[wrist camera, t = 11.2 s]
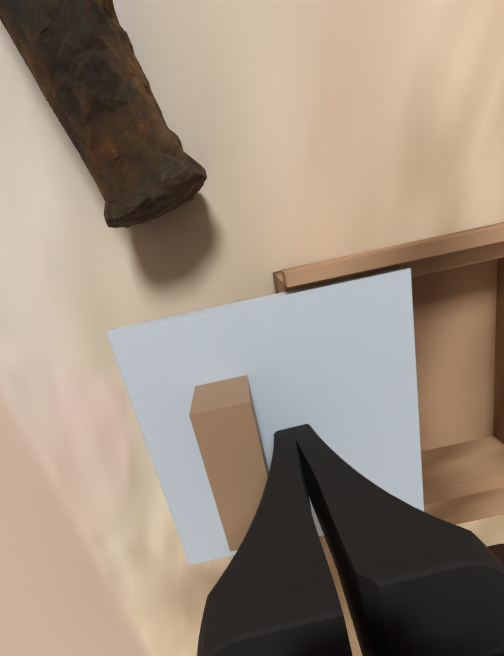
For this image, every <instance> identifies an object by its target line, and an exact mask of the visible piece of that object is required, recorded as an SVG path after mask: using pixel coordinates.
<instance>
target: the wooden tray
mask: <svg viewBox="0 0 504 656" xmlns="http://www.w3.org/2000/svg"><path fill="white" fill-rule="evenodd" d="M397 267H407V268H411V283H412V301H413V320H414V338H415V356H416V374H417V392H418V411H419V429H420V447H421V465H422V483H423V502H424V512H426V513H428V514H430V515H432V516H434V517H437V518H439V519H442V520H444V521H447V522H449V523H452V524H454V525H455V524H460V523H464V522H469V521H474V520H478V519H483V518H487V517H492V516H496V515H501V514H504V222H502V223H498V224H493V225H488V226H484V227H479V228H475V229H470V230H465V231H461V232H456V233H451V234H447V235H442V236H437V237H433V238H428V239H423V240H419V241H414V242H409V243H405V244H400V245H395V246H391V247H386V248H381V249H377V250H372V251H367V252H363V253H358V254H353V255H349V256H344V257H339V258H335V259H330V260H326V261H321V262H316V263H312V264H307V265H302V266H298V267H293V268H288V269H284V270H281V271H279V272H274V273H273V275H274V281H275V286H276V292H277V293H281V292H286V291H290V290H295V289H300V288H304V287H309V286H314V285H318V284H323V283H328V282H332V281H337V280H342V279H346V278H351V277H356V276H360V275H365V274H369V273H374V272H379V271H383V270H388V269H393V268H397Z"/></svg>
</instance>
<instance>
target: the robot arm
mask: <svg viewBox="0 0 504 656" xmlns="http://www.w3.org/2000/svg"><path fill="white" fill-rule="evenodd" d="M309 498H310V500H309ZM310 501H311V503H312V506H313V508H314V511H315V514H316V516H317V519H318V521H319V524H320V526H321V529H322V531H323V534H324V536H325V539H326V542H327V544H328V547H329V549H330V552H331V554H332V557H333V560H334V563H335V566H336V568H337V571H338V575H339V578H340V581H341V585H342V588H343V591H344V595H345V598H346V601H347V605H348V608H349V611H350V615H351V618H352V621H353V625H354V628H355V631H356V635H357V638H358V641H359V645H360V648H361V652H362V655H363V656H504V565H503V564H502V563H501V562H500V560H499V559H498V558H497V557H496V556H495V555H494V554H493V553H492V552H491V551H490V550H489V549H488V548H487V546H486V545H485V544H484V543H483V542H482V541H481V540H480V539H479V538H478V537H477V536H476V535H475V534H474V533H473V532H471V531H470V530H467V529H465V528H462V527H459V526H457V525H454V524H452V523H449V522H447V521H444V520H442V519H439V518H437V517H434V516H432V515H430V514H428V513H426V512H424V511H421V510H419V509H417V508H415V507H413V506H411V505H410V504H408V503H406V502H404V501H402V500H400V499H399V498H397V497H395V496H393V495H391V494H390V493H388V492H387V491H385V490H383V489H382V488H380V487H379V486H377V485H376V484H374V483H373V482H371V481H370V480H368V479H367V478H365V477H364V476H363V475H361V474H360V473H359V472H358V471H356V470H355V469H354V468H353V467H351V466H350V465H349V464H348V463H346V462H345V461H344V460H343V459H342V458H341V457H340V456H338V455H337V454H336V453H335V452H334V451H333V450H332V449H331V448H330V447H329V446H328V445H327V444H326V443H325V442H324V441H323V440H322V439H321V438H320V437H319V436H318V434H317V433H316V432H315V431H314V430H313V428H312V427H311V426H310V425H309V424H303V425H299V426H295V427H291V428H287V429H283V430H279V431H276V432H275V433H274V447H273V455H272V460H271V465H270V470H269V474H268V478H267V482H266V485H265V489H264V492H263V495H262V498H261V501H260V503H259V506H258V509H257V511H256V514H255V516H254V518H253V520H252V523H251V525H250V527H249V529H248V531H247V533H246V535H245V537H244V539H243V541H242V543H241V545H240V546H239V548H238V550H237V552H236V553H235V555H234V557H233V559H232V560H231V562H230V564H229V565H228V567H227V569H226V570H225V572H224V573H223V574H222V576H221V577H220V579H219V580H218V582H217V583H216V585H215V586H214V588H213V589H212V591H211V592H210V593H209V595H208V597H207V601H206V605H205V609H204V613H203V618H202V623H201V628H200V634H199V641H198V652H197V656H352V652H351V647H350V643H349V638H348V634H347V629H346V625H345V620H344V616H343V612H342V608H341V605H340V601H339V598H338V595H337V591H336V588H335V584H334V581H333V578H332V575H331V572H330V569H329V566H328V563H327V560H326V557H325V554H324V551H323V548H322V545H321V542H320V539H319V535H318V532H317V529H316V526H315V523H314V519H313V516H312V511H311V505H310Z"/></svg>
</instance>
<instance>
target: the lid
mask: <svg viewBox="0 0 504 656" xmlns="http://www.w3.org/2000/svg"><path fill="white" fill-rule="evenodd" d="M107 336H108V339H109V342H110V345H111V347H112V350H113V353H114V356H115V359H116V361H117V364H118V367H119V370H120V373H121V375H122V378H123V381H124V384H125V386H126V389H127V392H128V395H129V398H130V400H131V403H132V406H133V409H134V412H135V414H136V417H137V420H138V423H139V425H140V428H141V431H142V434H143V437H144V439H145V442H146V445H147V448H148V451H149V453H150V456H151V459H152V462H153V465H154V467H155V470H156V473H157V476H158V478H159V481H160V484H161V487H162V490H163V492H164V495H165V498H166V501H167V504H168V506H169V509H170V512H171V515H172V517H173V520H174V523H175V526H176V529H177V531H178V534H179V537H180V540H181V543H182V545H183V548H184V551H185V554H186V556H187V559H188V562H189V565H192V564H197V563H201V562H206V561H210V560H215V559H219V558H224V557H229V556H233V555H235V553H236V552H237V550H238V548H239V546H240V545H241V543H242V541H243V539H244V537H245V535H246V533H247V531H248V529H249V527H250V525H251V523H252V520H253V518H254V516H255V514H256V511H257V509H258V506H259V503H260V501H261V498H262V495H263V492H264V489H265V485H266V482H267V478H268V474H269V470H270V465H271V460H272V455H273V447H274V433H275V432H276V431H279V430H283V429H287V428H291V427H295V426H299V425H303V424H309V425H310V426H311V427H312V428H313V430H314V431H315V432H316V433H317V434H318V436H319V437H320V438H321V439H322V440H323V441H324V442H325V443H326V444H327V445H328V446H329V447H330V448H331V449H332V450H333V451H334V452H335V453H336V454H337V455H338V456H340V457H341V458H342V459H343V460H344V461H345V462H346V463H348V464H349V465H350V466H351V467H353V468H354V469H355V470H356V471H358V472H359V473H360V474H361V475H363V476H364V477H365V478H367V479H368V480H370V481H371V482H373V483H374V484H376V485H377V486H379V487H380V488H382V489H383V490H385V491H387V492H388V493H390V494H391V495H393V496H395V497H397V498H399V499H400V500H402V501H404V502H406V503H408V504H410V505H411V506H413V507H415V508H417V509H419V510H421V511H424V502H423V483H422V465H421V447H420V429H419V411H418V392H417V374H416V356H415V338H414V320H413V301H412V283H411V268H407V267H397V268H393V269H388V270H383V271H379V272H374V273H369V274H365V275H360V276H356V277H351V278H346V279H342V280H337V281H332V282H328V283H323V284H318V285H314V286H309V287H304V288H300V289H295V290H290V291H286V292H281V293H276V294H272V295H267V296H263V297H258V298H253V299H249V300H244V301H239V302H235V303H230V304H225V305H221V306H216V307H211V308H207V309H202V310H197V311H193V312H188V313H183V314H179V315H174V316H170V317H165V318H160V319H156V320H151V321H146V322H142V323H137V324H132V325H128V326H123V327H118V328H114V329H112V330H110V331H109V332H108V333H107ZM309 500H310V498H309ZM310 505H311V511H312V516H313V519H314V523H315V526H316V529H317V532H318V535H319V537H320V536H324V534H323V531H322V529H321V526H320V524H319V521H318V519H317V516H316V514H315V511H314V508H313V506H312V503H311V501H310Z"/></svg>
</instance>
